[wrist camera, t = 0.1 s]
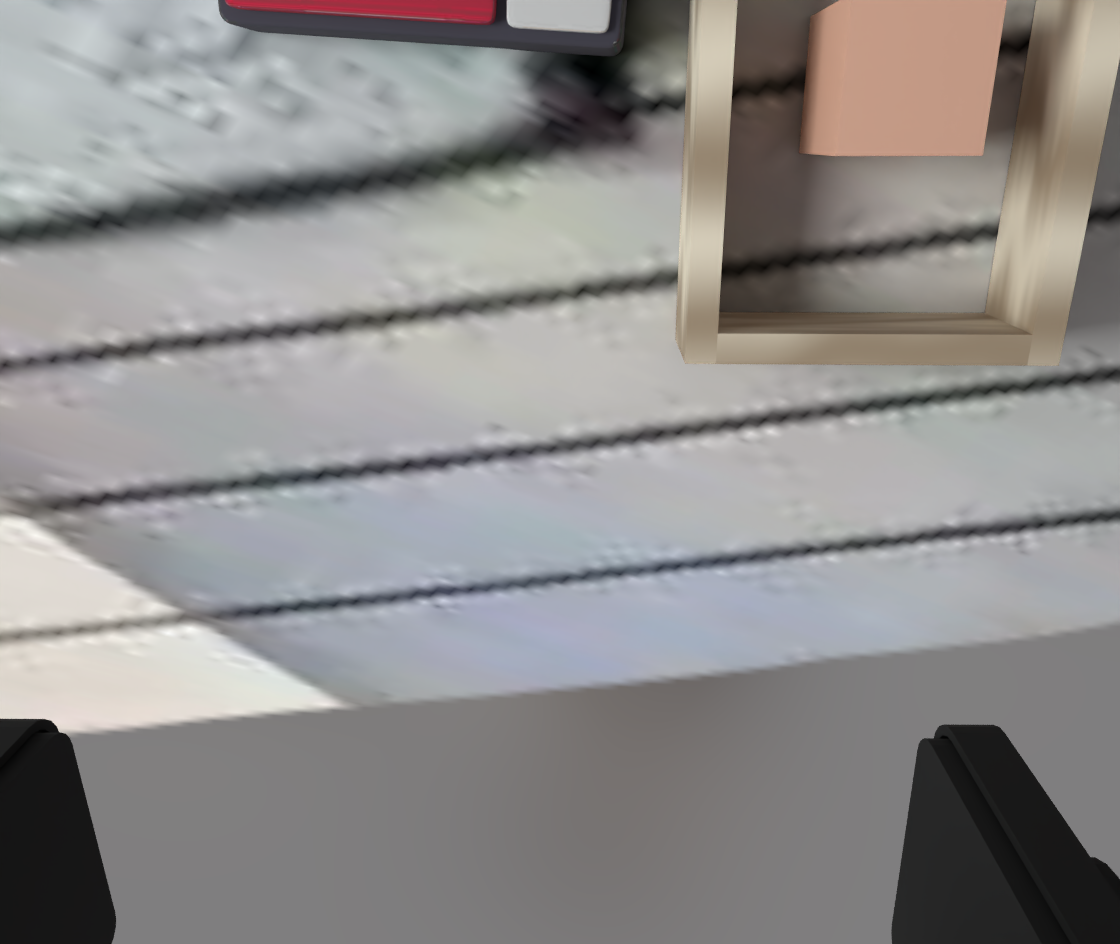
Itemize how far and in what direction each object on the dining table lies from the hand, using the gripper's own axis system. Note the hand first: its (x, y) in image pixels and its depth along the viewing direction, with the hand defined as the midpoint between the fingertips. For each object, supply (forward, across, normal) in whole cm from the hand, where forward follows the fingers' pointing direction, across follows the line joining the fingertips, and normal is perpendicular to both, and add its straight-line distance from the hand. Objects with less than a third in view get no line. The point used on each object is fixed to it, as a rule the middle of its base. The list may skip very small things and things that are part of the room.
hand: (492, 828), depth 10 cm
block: (+31, -12, -9) cm, 35 cm away
